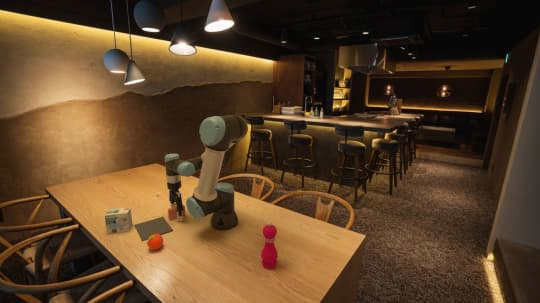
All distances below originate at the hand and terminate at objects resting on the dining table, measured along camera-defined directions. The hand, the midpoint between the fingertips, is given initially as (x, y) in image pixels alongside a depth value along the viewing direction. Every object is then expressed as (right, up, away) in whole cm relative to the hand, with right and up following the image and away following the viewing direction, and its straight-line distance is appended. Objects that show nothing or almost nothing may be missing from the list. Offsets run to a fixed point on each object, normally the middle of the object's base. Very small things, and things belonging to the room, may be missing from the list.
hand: (177, 217), depth 144 cm
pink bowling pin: (+54, -10, -38) cm, 67 cm away
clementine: (0, -7, -28) cm, 29 cm away
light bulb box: (-25, -3, -13) cm, 29 cm away
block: (0, 0, 0) cm, 0 cm away
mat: (-8, -3, -12) cm, 15 cm away
